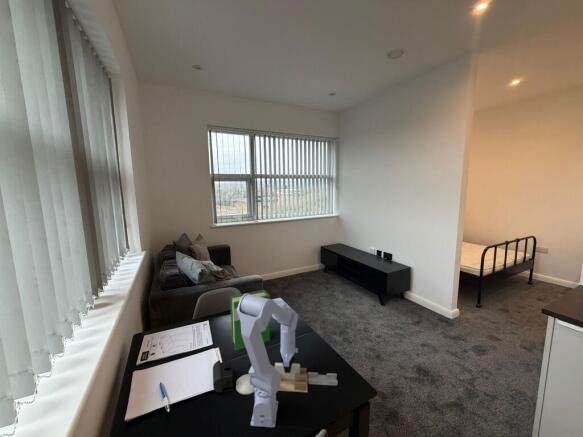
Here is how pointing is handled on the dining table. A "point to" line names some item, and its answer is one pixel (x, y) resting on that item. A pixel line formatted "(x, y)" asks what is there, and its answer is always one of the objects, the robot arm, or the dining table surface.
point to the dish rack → (295, 382)
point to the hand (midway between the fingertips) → (287, 370)
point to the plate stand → (322, 379)
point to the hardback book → (237, 323)
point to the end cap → (222, 376)
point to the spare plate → (244, 385)
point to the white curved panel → (294, 370)
